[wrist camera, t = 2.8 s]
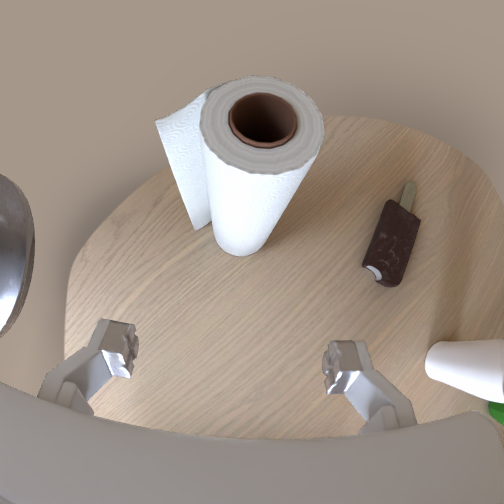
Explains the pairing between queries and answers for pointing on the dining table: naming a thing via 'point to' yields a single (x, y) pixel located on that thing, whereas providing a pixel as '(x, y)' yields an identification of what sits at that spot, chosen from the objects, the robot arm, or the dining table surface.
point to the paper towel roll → (242, 156)
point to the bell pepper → (497, 411)
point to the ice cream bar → (393, 239)
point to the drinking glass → (469, 366)
